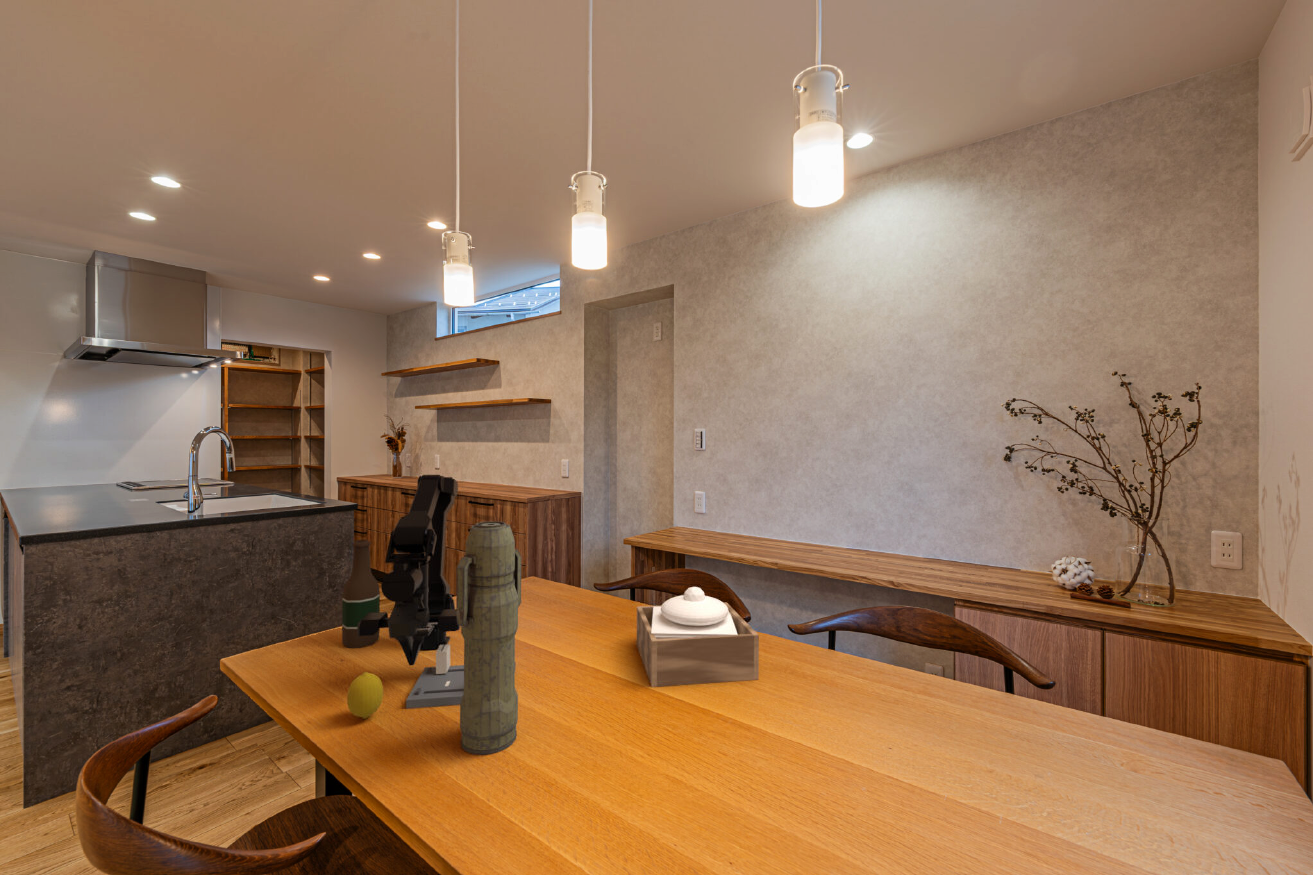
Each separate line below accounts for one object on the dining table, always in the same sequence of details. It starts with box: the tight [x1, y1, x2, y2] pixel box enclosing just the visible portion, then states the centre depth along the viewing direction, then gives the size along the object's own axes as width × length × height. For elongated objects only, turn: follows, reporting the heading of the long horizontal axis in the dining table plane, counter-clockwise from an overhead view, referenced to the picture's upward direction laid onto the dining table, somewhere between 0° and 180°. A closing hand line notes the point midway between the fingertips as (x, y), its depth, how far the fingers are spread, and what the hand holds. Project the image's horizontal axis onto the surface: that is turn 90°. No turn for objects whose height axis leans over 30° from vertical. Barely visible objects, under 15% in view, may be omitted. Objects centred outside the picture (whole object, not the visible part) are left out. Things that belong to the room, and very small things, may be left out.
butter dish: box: [651, 586, 738, 639], centre depth 121 cm, size 18×18×16 cm
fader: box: [435, 643, 451, 674], centre depth 111 cm, size 4×2×4 cm, turn 10°
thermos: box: [455, 520, 522, 756], centre depth 89 cm, size 9×12×35 cm
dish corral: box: [636, 602, 760, 688], centre depth 121 cm, size 22×22×9 cm
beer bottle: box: [341, 539, 381, 649], centre depth 129 cm, size 8×8×24 cm
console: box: [405, 661, 517, 709], centre depth 107 cm, size 14×18×2 cm
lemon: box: [346, 671, 384, 720], centre depth 95 cm, size 6×6×8 cm
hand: (412, 664), depth 110 cm, fingers closed
